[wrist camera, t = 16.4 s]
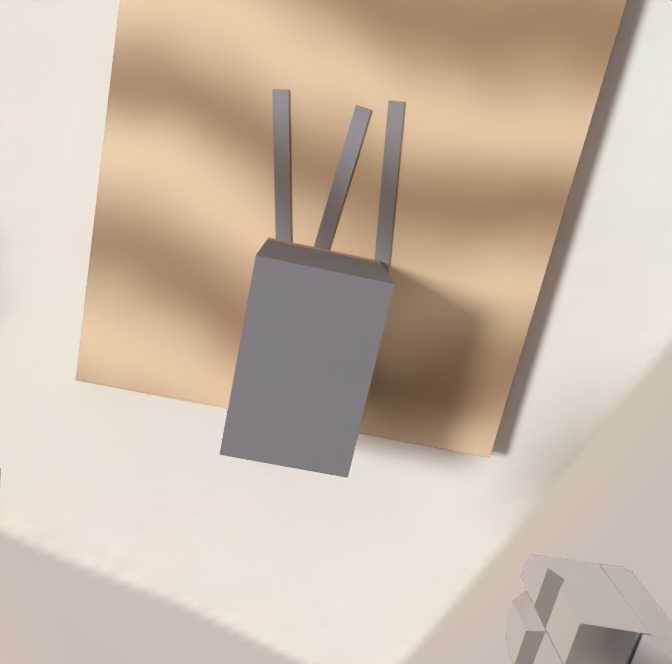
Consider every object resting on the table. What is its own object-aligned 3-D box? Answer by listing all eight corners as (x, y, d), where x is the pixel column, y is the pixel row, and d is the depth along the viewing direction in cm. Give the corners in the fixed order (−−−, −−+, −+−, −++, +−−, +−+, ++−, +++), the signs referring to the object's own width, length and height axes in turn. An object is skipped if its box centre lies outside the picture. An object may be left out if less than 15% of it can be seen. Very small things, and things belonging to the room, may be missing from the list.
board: (157, -217, 21) (147, -242, 20) (639, -87, 23) (658, -102, 21) (86, 371, 26) (74, 380, 25) (482, 446, 28) (490, 458, 26)
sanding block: (268, 237, 24) (255, 255, 19) (379, 260, 24) (394, 284, 19) (238, 400, 26) (219, 454, 21) (342, 419, 26) (347, 477, 21)
